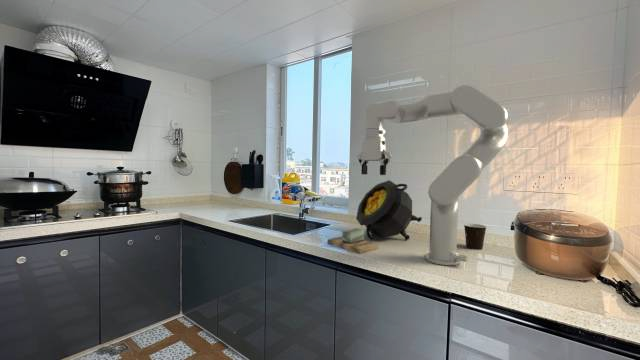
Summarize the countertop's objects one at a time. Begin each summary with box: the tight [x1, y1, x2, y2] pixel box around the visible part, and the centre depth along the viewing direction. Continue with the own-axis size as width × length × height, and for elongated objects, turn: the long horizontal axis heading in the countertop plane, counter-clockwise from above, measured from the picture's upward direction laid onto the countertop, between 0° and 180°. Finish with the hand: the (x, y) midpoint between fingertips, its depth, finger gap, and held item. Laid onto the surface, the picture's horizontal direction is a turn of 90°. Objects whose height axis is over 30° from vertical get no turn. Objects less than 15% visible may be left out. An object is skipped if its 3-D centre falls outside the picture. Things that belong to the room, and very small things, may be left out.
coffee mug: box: [464, 223, 487, 251], centre depth 125 cm, size 12×9×10 cm
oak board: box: [327, 235, 380, 255], centre depth 127 cm, size 20×12×2 cm, turn 41°
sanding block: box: [341, 227, 365, 244], centre depth 127 cm, size 5×9×5 cm, turn 130°
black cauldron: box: [355, 179, 423, 241], centre depth 142 cm, size 28×28×24 cm
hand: (373, 174), depth 120 cm, fingers open, 9 cm apart
